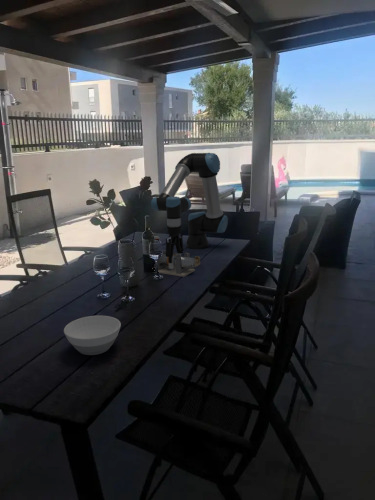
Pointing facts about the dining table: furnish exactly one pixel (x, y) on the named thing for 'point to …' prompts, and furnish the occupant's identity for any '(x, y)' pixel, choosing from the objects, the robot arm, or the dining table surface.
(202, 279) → the dining table surface
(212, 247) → the dining table surface
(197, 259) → the rack
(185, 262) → the tube
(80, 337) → the bowl
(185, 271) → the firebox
